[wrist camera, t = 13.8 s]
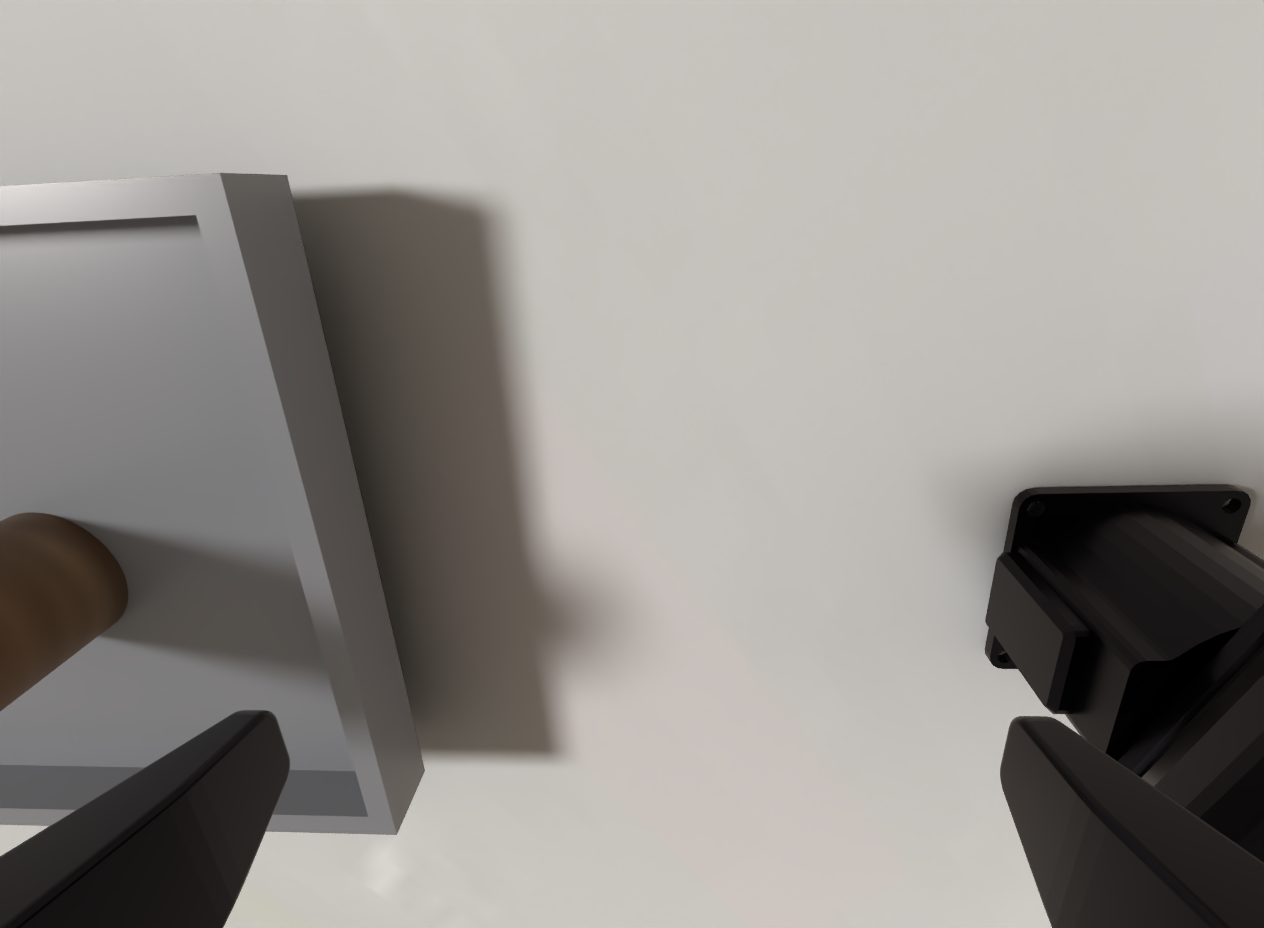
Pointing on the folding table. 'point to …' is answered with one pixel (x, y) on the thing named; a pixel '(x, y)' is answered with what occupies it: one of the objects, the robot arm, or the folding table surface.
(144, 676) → the parts tray
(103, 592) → the walnut part
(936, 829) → the folding table surface
